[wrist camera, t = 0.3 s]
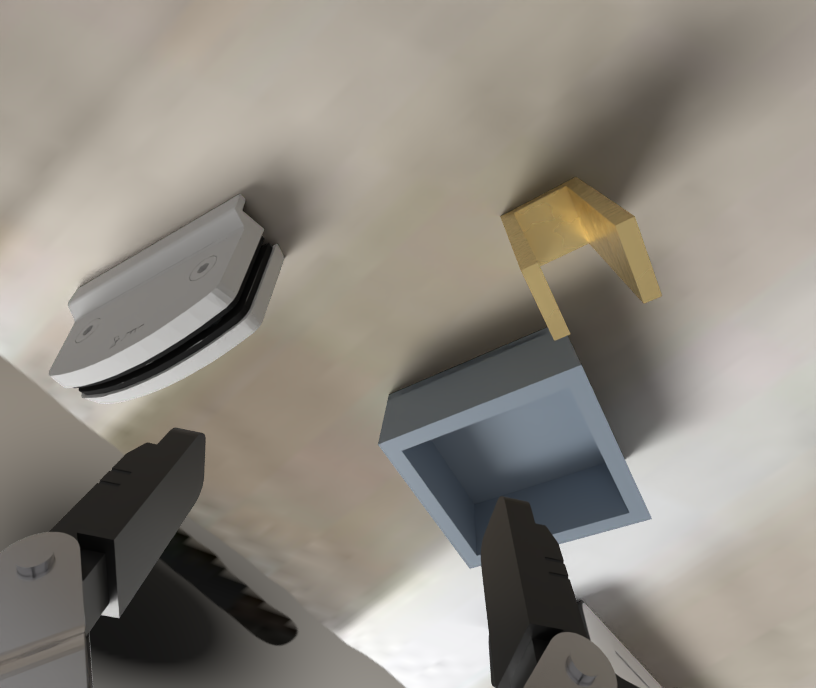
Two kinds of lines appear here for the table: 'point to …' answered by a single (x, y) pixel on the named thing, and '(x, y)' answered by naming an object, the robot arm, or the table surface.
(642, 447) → the table surface
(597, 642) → the laminator
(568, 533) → the box
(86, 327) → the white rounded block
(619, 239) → the bracket
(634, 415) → the table surface
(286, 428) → the table surface
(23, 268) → the table surface
